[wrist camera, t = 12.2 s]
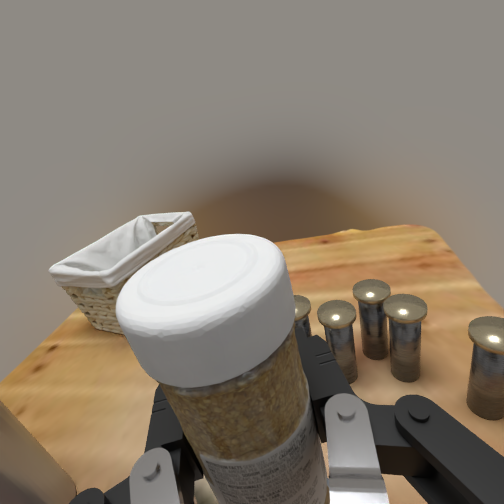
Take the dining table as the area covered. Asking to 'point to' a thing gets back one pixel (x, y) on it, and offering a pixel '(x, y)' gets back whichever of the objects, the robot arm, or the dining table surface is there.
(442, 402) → the dining table surface
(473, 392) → the posts
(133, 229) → the storage basket
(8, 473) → the robot arm
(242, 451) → the sprinkles bottle
